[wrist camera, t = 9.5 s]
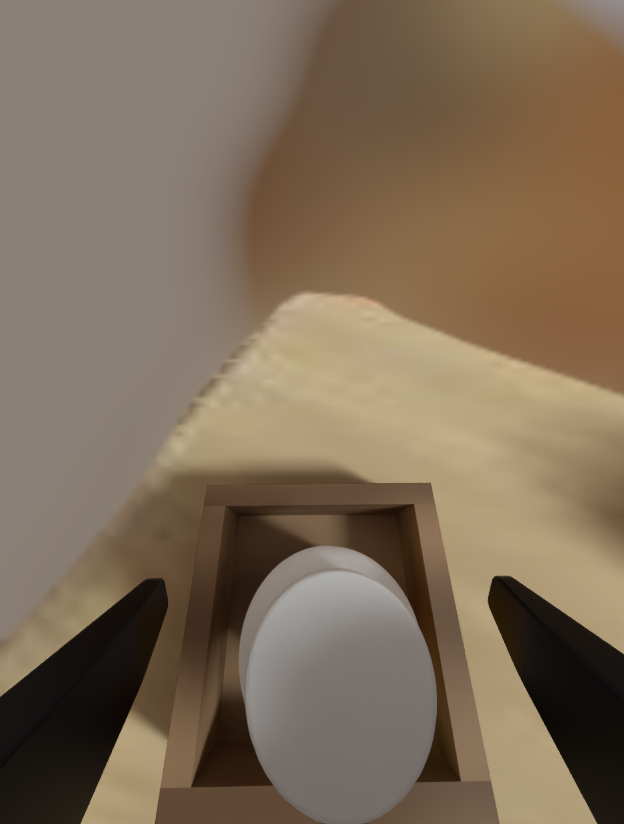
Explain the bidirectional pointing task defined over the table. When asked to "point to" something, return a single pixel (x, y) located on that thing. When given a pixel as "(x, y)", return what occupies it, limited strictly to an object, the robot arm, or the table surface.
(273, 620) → the supplement bottle
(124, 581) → the table surface
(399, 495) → the crate
